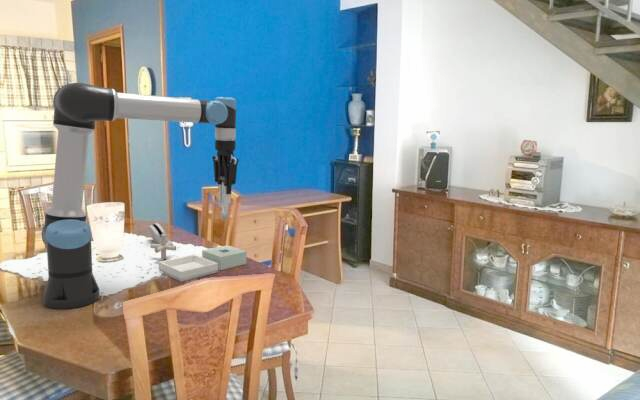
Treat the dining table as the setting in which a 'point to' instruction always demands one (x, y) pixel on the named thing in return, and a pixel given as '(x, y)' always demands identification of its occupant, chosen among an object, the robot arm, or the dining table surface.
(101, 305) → the dining table surface
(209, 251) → the block
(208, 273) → the tray
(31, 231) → the dining table surface
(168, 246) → the pipe connector
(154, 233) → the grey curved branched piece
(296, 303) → the dining table surface
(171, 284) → the dining table surface
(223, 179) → the steel pin
